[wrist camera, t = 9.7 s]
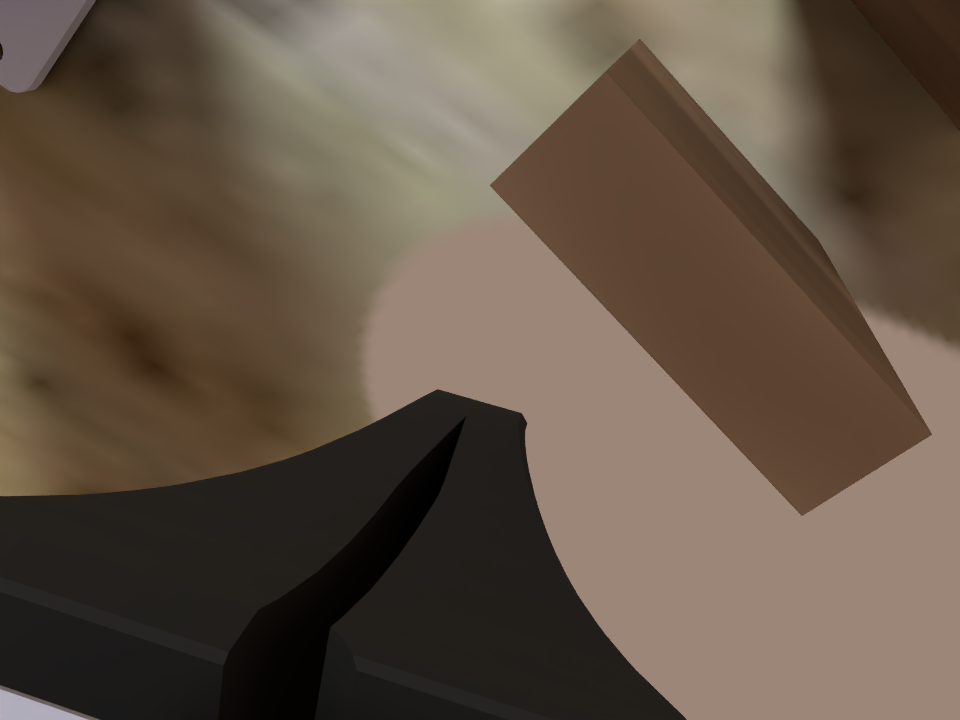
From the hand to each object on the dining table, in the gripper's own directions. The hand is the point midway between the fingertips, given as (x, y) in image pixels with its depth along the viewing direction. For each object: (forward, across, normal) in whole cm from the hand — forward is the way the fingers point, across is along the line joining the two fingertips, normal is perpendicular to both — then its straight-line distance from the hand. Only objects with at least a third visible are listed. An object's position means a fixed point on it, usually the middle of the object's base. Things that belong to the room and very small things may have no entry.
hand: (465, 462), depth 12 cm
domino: (+6, -2, -4) cm, 8 cm away
